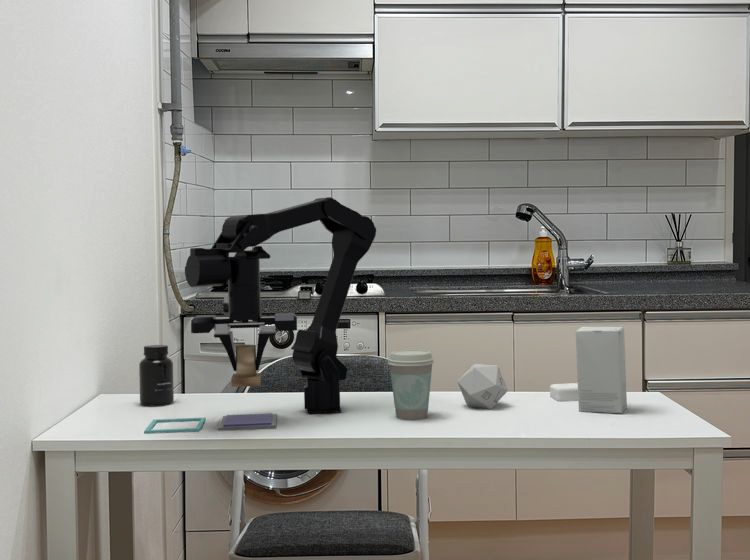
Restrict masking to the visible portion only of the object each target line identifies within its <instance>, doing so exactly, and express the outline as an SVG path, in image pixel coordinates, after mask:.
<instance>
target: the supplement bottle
mask: <svg viewBox="0 0 750 560" xmlns="http://www.w3.org/2000/svg"><path fill="white" fill-rule="evenodd" d="M168 355H169V345H166V344H152V345H151V344H150V345H144V346H143V356H144V358H143V359H141V360H140V362H139V365H138V366H139V367H138V368H139V369H138V370H139V371H138V373H139V374H138V375H139V377H138V378H139V404H141V406H145V405H162V406H166V405H165V404H168V405H171V404H173V402H174V400H175V399H174V397H175V396H174V395H175V392H174V390H175V389H174V384H175V383H174V362H173V360H172V359H171V358H169V357H168ZM170 403H171V404H170Z"/></svg>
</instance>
